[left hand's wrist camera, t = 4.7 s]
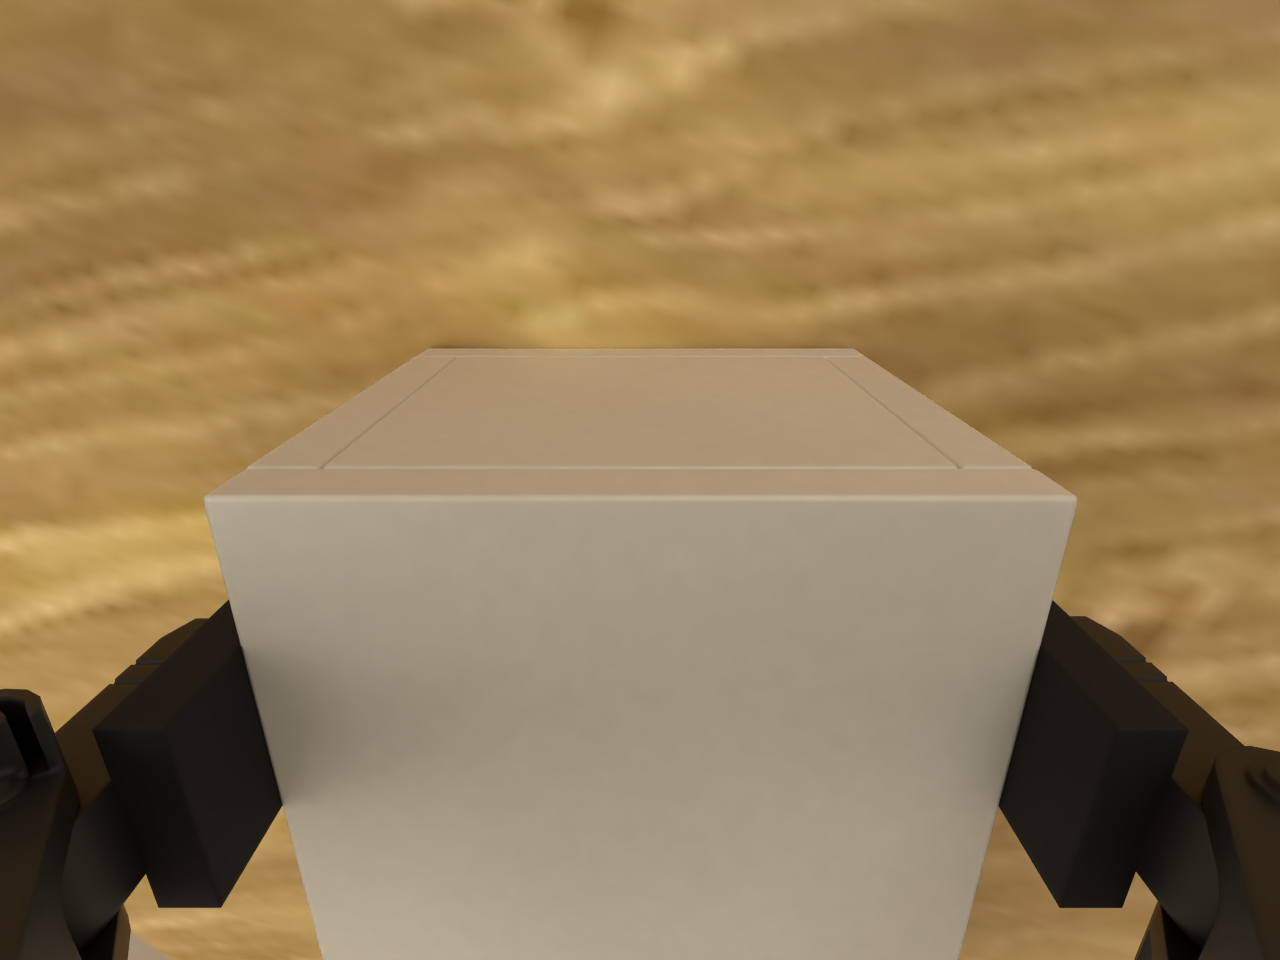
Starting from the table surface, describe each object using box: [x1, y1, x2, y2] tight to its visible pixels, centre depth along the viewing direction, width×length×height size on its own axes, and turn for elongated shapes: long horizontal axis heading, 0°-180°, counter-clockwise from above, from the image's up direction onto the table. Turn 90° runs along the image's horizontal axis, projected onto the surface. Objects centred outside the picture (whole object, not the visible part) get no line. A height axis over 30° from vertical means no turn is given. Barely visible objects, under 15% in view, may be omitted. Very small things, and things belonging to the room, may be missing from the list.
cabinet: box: [204, 348, 1077, 960], centre depth 16 cm, size 20×10×9 cm, turn 0°
